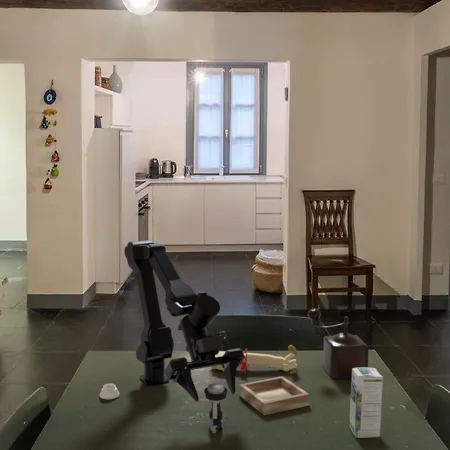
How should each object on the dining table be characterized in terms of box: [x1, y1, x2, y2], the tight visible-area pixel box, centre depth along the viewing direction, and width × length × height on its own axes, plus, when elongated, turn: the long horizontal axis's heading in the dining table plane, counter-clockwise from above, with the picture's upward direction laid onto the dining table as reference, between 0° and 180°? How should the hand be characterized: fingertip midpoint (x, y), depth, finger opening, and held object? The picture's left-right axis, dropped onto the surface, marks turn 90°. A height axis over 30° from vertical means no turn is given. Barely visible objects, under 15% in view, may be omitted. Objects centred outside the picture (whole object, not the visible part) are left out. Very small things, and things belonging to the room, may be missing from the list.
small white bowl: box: [99, 383, 120, 400], centre depth 161 cm, size 5×3×5 cm
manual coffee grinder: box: [307, 308, 369, 380], centre depth 177 cm, size 16×11×18 cm
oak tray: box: [239, 376, 310, 416], centre depth 158 cm, size 13×13×3 cm
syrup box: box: [349, 366, 384, 439], centre depth 141 cm, size 6×6×14 cm
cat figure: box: [211, 344, 298, 375], centre depth 179 cm, size 10×9×25 cm
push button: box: [203, 382, 228, 434], centre depth 143 cm, size 7×5×10 cm
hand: (216, 397), depth 142 cm, fingers open, 9 cm apart
